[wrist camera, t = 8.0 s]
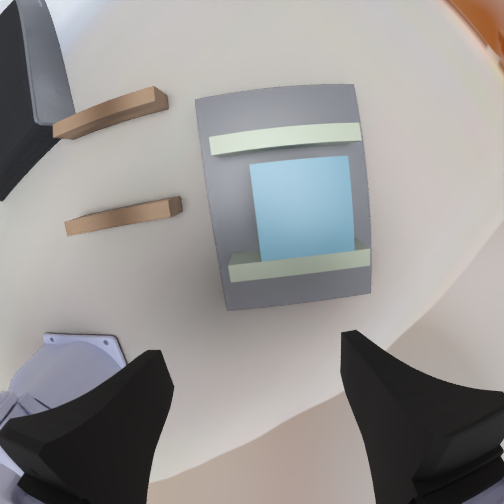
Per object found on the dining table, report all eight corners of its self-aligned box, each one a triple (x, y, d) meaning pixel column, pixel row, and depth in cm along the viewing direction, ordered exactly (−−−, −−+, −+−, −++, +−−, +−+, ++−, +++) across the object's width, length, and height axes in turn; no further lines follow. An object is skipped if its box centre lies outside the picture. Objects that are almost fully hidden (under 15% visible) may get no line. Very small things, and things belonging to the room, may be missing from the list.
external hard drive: (49, -9, 13) (28, -22, 9) (87, 120, 17) (55, 114, 13) (-24, 71, 15) (-46, 67, 11) (2, 205, 19) (-27, 213, 15)
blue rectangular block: (262, 231, 18) (261, 261, 12) (254, 167, 17) (249, 164, 11) (326, 224, 18) (354, 250, 12) (319, 160, 16) (347, 155, 11)
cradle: (86, 228, 19) (67, 236, 17) (72, 127, 17) (52, 124, 15) (182, 211, 18) (170, 217, 16) (167, 95, 16) (153, 85, 14)
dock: (228, 305, 20) (222, 329, 17) (197, 102, 16) (184, 89, 13) (367, 288, 19) (383, 309, 16) (350, 87, 16) (366, 72, 13)
